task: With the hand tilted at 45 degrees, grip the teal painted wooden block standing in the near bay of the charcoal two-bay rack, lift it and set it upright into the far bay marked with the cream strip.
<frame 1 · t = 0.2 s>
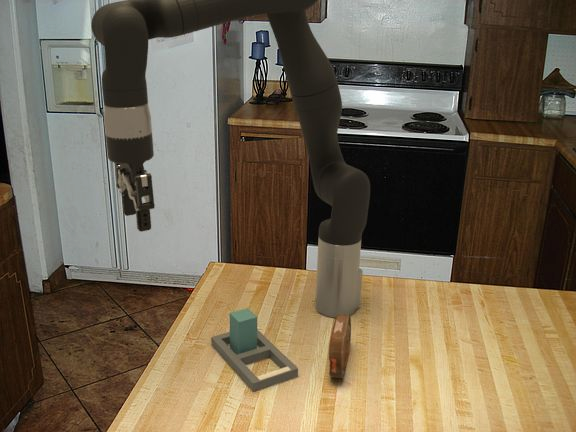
hand: (137, 222, 111), 29 cm above the countertop, tool pointing down, fingers open, 8 cm apart
block: (243, 350, 126), resting in rack
tin: (338, 364, 123), on the countertop
rack: (253, 360, 123), on the countertop
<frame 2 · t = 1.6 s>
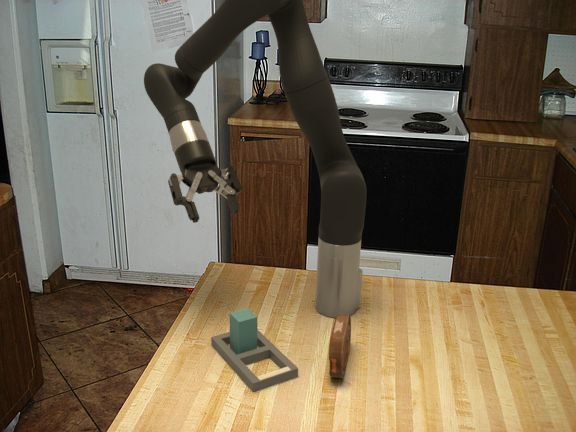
hand: (216, 217, 126), 24 cm above the countertop, tool tilted 45°, fingers open, 8 cm apart
nothing on the countertop moved.
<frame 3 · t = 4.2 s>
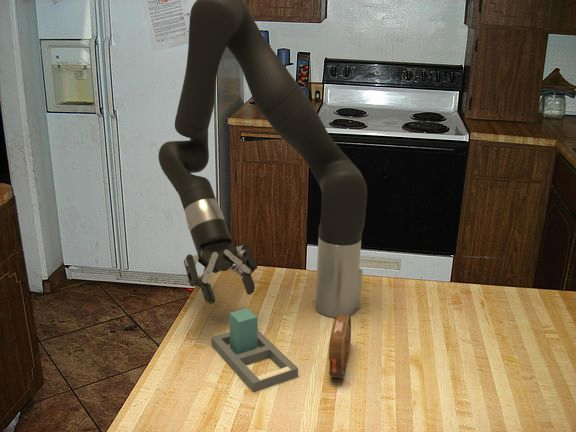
hand: (232, 298, 126), 9 cm above the countertop, tool tilted 45°, fingers open, 8 cm apart
nothing on the countertop moved.
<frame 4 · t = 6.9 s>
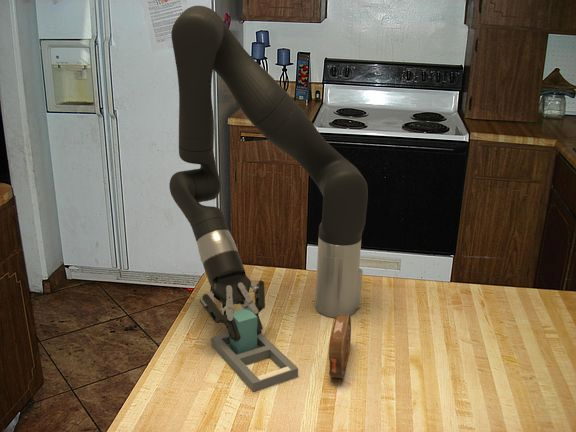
hand: (248, 336, 123), 4 cm above the countertop, tool tilted 45°, fingers closed on block, 4 cm apart
block: (243, 350, 126), resting in rack, touching gripper
everything else where it was.
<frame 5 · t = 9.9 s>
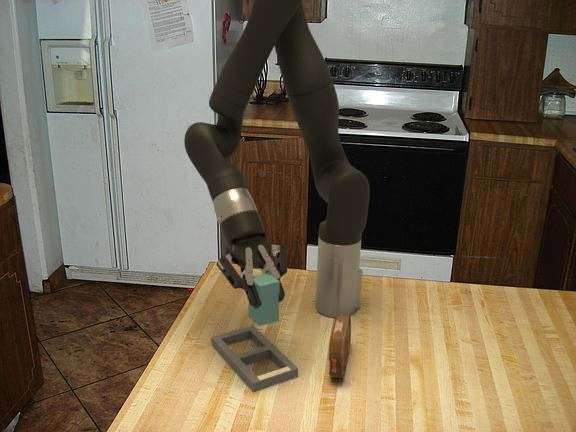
hand: (269, 303, 113), 15 cm above the countertop, tool tilted 45°, fingers closed on block, 4 cm apart
block: (263, 318, 116), point 11 cm above the countertop, touching gripper
everything else where it was.
when the fingers open (5 cm above the countertop, at t = 12.8 s): block stays where it is, resting in rack.
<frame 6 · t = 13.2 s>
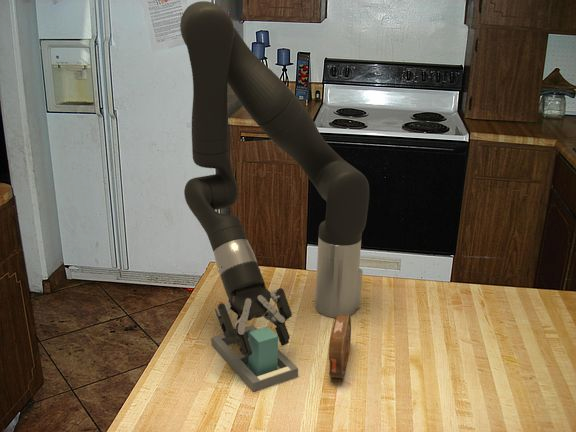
hand: (267, 349, 116), 5 cm above the countertop, tool tilted 45°, fingers open, 7 cm apart
block: (262, 370, 120), resting in rack
everything else where it was.
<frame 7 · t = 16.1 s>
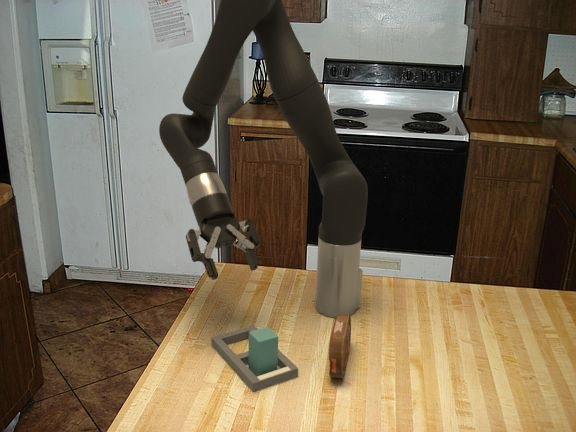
hand: (235, 273, 123), 15 cm above the countertop, tool tilted 45°, fingers open, 8 cm apart
nothing on the countertop moved.
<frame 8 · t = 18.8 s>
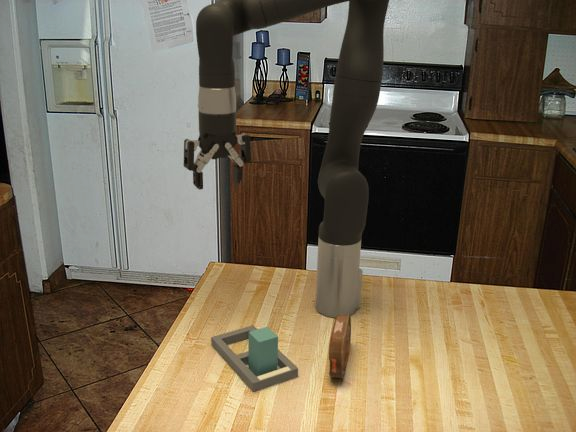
hand: (218, 185, 133), 28 cm above the countertop, tool pointing down, fingers open, 8 cm apart
nothing on the countertop moved.
at the end: block 0.1 cm from the target spot on the rack, point 0.0 cm above the rack's base; block tilted 0°; the gripper is holding nothing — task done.
